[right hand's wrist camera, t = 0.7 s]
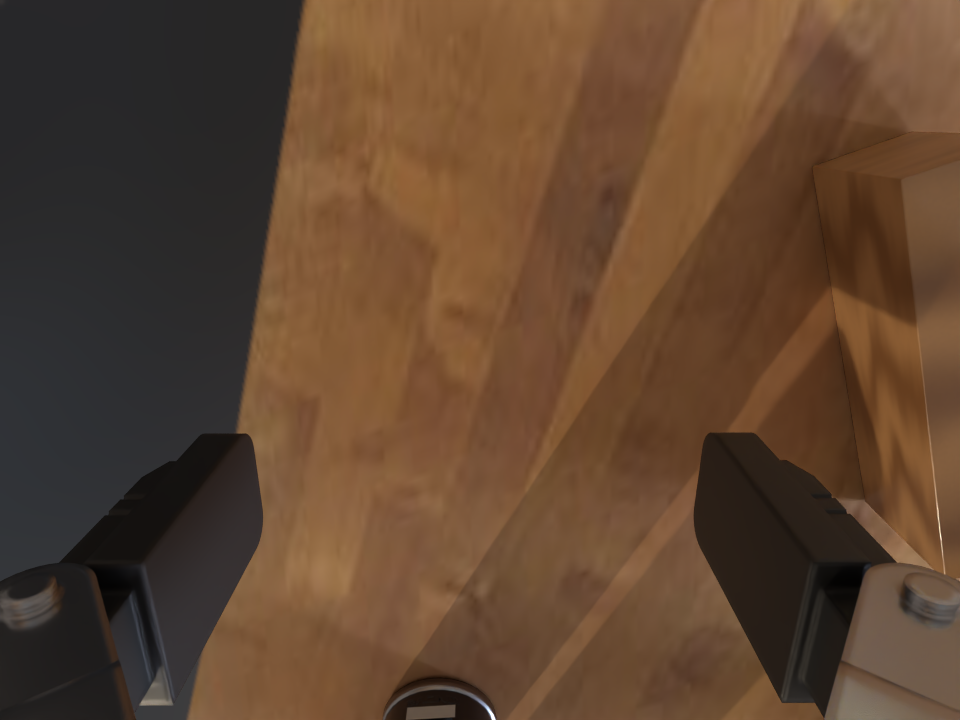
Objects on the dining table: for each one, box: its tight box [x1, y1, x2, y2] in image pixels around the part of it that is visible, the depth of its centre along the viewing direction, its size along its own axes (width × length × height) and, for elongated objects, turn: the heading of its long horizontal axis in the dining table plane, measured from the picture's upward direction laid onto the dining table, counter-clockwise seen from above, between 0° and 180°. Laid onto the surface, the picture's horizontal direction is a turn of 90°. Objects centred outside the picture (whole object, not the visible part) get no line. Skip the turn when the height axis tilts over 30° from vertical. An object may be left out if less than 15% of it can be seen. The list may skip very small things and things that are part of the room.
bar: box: [812, 132, 960, 579], centre depth 36 cm, size 24×6×8 cm, turn 20°
